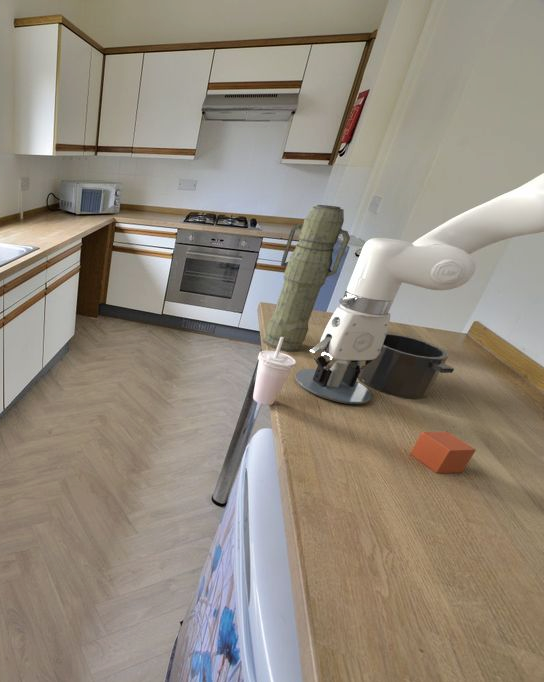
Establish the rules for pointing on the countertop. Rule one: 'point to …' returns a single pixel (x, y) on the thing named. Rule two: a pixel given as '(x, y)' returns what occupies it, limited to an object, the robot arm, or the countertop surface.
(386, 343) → the pot
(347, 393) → the lid
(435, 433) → the block
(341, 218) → the thermos
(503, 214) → the robot arm
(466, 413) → the countertop surface
